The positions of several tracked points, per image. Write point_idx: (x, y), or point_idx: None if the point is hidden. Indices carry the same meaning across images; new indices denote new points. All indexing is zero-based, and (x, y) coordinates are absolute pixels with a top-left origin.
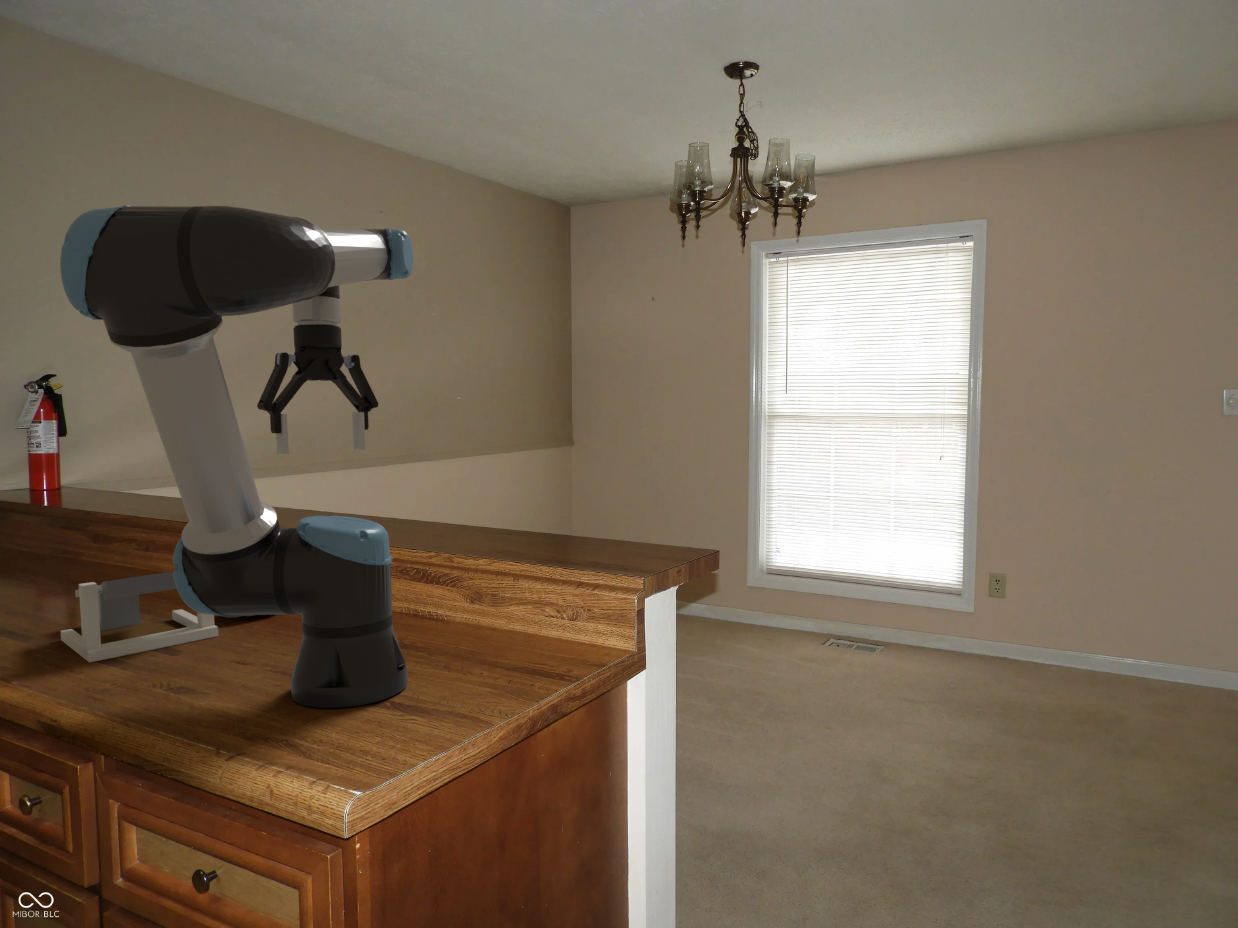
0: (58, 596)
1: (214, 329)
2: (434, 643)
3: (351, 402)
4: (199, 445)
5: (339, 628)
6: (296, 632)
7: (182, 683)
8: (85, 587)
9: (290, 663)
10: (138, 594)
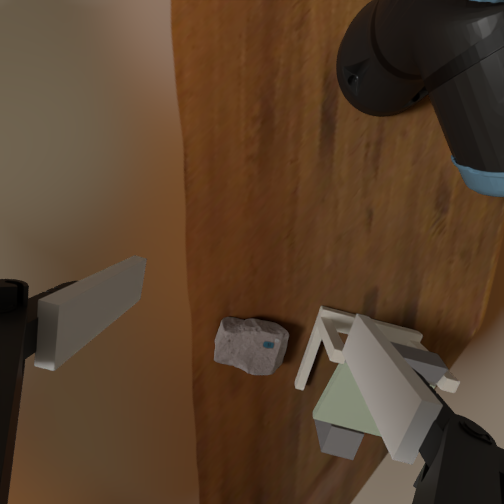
0: None
1: None
2: (246, 97)
3: (19, 399)
4: None
5: None
6: (281, 253)
7: (429, 214)
8: (455, 379)
9: (353, 176)
10: (411, 347)
